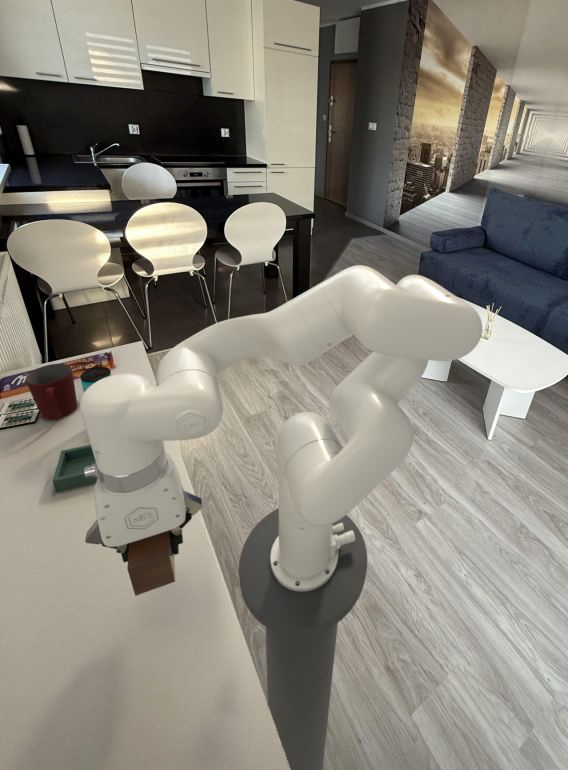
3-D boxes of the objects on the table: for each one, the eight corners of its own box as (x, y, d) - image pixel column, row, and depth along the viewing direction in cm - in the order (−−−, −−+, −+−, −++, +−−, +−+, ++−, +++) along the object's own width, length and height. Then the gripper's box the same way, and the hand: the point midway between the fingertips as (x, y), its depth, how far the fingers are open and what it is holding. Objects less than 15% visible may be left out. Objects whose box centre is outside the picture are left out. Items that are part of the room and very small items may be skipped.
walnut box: (138, 532, 62) (132, 506, 60) (173, 521, 64) (168, 495, 62) (135, 596, 54) (127, 569, 52) (175, 581, 56) (169, 554, 54)
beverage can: (124, 425, 97) (114, 374, 91) (97, 436, 93) (84, 384, 87) (116, 413, 101) (106, 363, 95) (89, 423, 97) (76, 372, 91)
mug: (82, 422, 97) (72, 385, 92) (36, 434, 92) (23, 396, 88) (80, 395, 106) (71, 360, 101) (38, 405, 101) (27, 369, 96)
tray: (137, 445, 92) (135, 435, 91) (135, 473, 85) (133, 462, 84) (64, 461, 86) (61, 450, 85) (55, 492, 79) (52, 481, 78)
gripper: (46, 508, 45) (83, 602, 53) (206, 466, 52) (218, 554, 59) (60, 460, 51) (91, 550, 59) (201, 428, 58) (212, 513, 65)
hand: (155, 552), depth 59 cm, fingers closed on walnut box, 5 cm apart
